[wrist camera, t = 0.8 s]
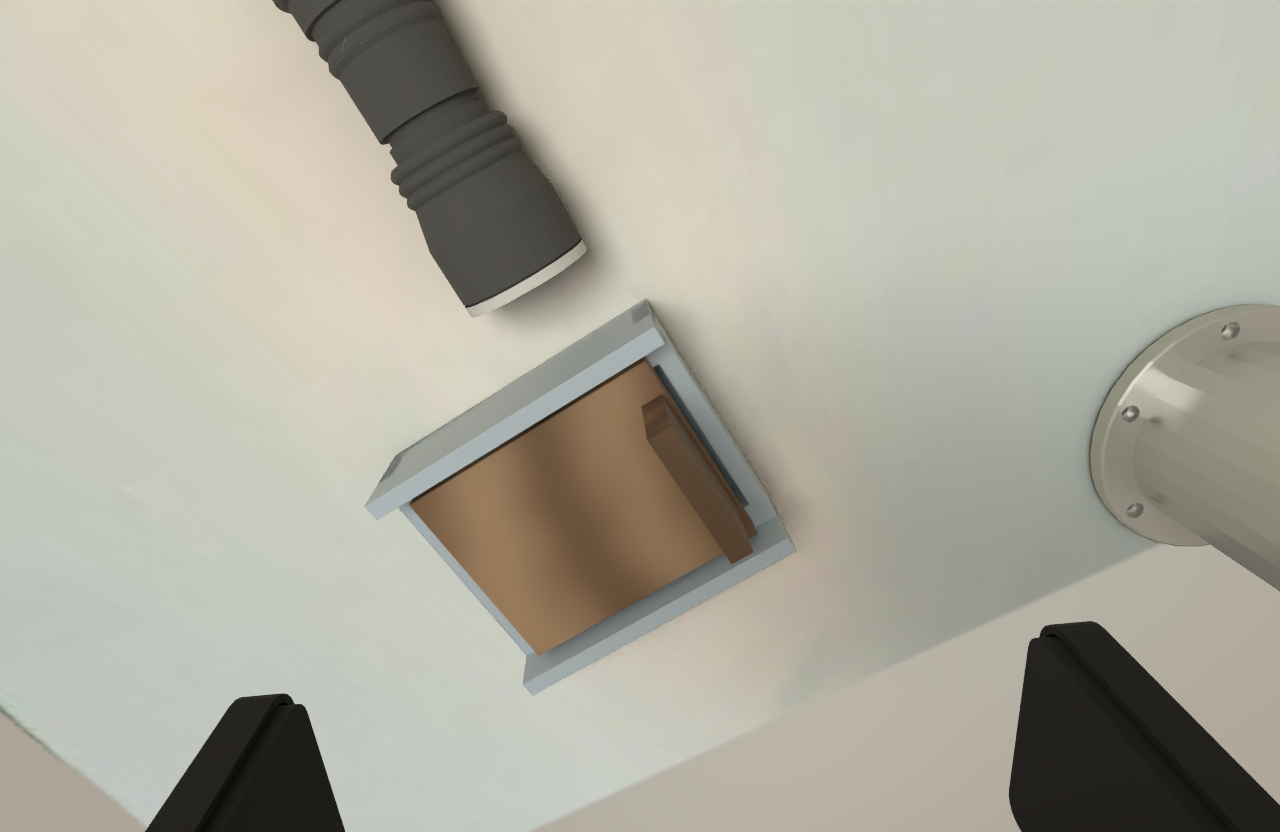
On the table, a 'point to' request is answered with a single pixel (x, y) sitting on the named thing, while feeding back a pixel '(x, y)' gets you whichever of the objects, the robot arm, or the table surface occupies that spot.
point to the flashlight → (445, 147)
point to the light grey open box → (539, 399)
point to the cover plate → (588, 509)
